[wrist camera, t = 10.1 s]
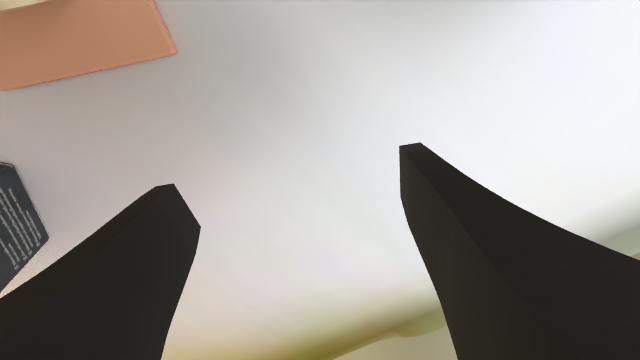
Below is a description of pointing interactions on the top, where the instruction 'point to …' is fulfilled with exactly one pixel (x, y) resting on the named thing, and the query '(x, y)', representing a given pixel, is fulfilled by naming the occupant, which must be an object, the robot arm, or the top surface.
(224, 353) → the top surface
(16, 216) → the box
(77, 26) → the mat
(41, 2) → the label block
